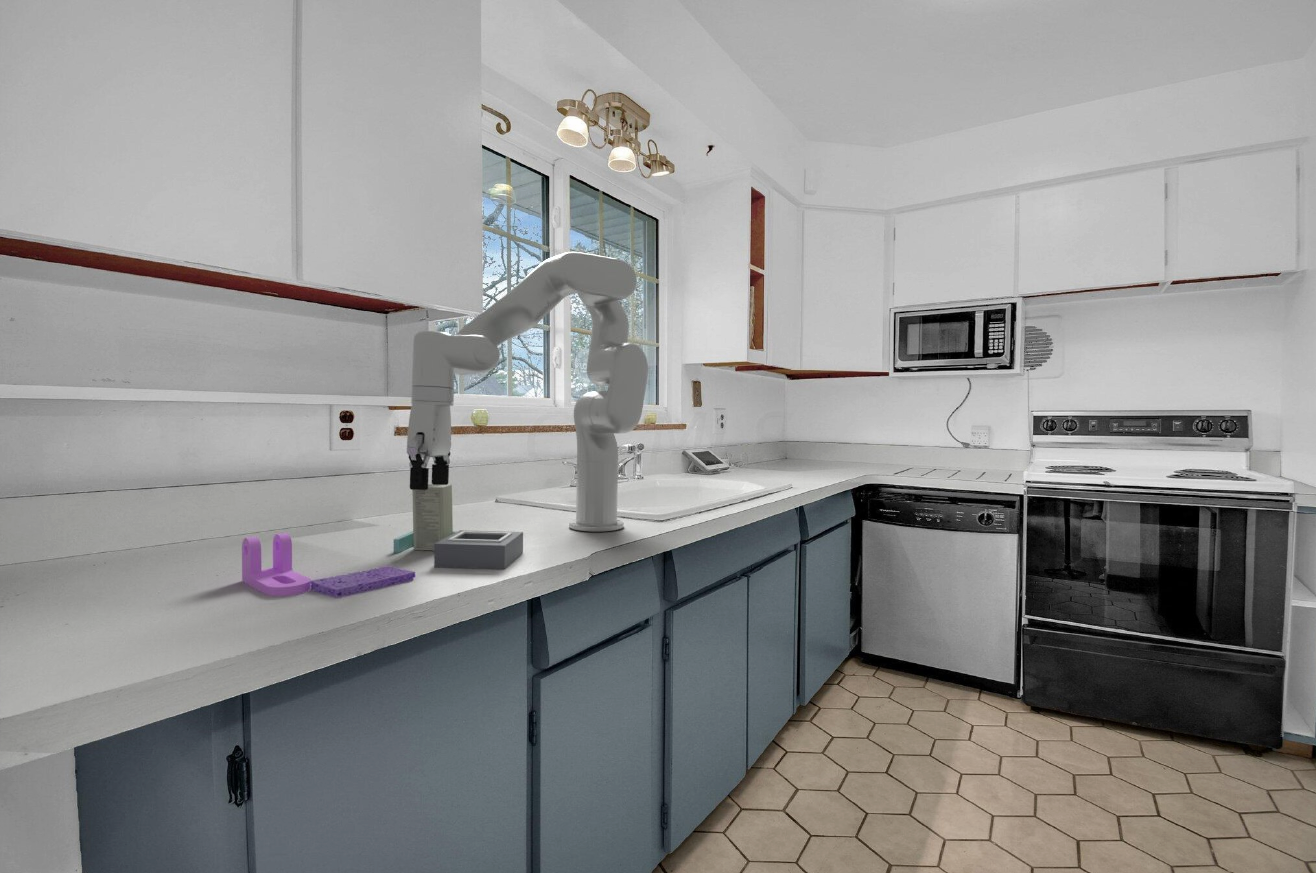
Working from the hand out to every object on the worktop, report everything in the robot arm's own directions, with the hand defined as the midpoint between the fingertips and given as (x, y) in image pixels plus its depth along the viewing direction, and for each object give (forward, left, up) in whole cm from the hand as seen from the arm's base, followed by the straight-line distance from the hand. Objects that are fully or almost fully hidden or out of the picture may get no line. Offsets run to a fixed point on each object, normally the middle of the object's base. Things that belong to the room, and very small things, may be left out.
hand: (429, 487), depth 116 cm
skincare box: (0, 0, -12) cm, 12 cm away
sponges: (+25, 0, -13) cm, 28 cm away
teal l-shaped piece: (0, 0, -12) cm, 12 cm away
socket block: (+8, +12, -12) cm, 19 cm away
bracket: (+27, -12, -12) cm, 31 cm away
